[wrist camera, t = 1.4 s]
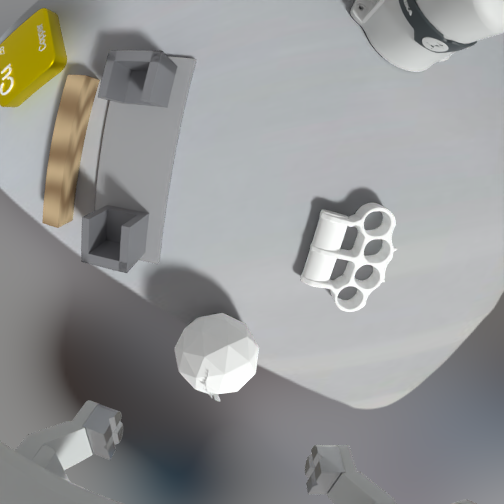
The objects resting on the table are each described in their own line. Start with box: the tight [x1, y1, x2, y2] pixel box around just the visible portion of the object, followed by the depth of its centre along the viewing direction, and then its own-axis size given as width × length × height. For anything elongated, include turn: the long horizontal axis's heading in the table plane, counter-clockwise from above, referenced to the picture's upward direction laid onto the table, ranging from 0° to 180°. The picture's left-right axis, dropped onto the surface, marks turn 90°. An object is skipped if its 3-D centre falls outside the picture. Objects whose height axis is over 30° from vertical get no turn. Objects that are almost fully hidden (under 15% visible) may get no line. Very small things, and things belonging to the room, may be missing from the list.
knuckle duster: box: [300, 203, 397, 312], centre depth 45 cm, size 3×18×15 cm
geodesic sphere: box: [174, 313, 259, 401], centre depth 45 cm, size 14×14×14 cm
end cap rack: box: [81, 50, 196, 273], centre depth 37 cm, size 32×12×9 cm, turn 168°
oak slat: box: [43, 75, 100, 228], centre depth 38 cm, size 24×4×5 cm, turn 164°
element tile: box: [0, 8, 67, 107], centre depth 32 cm, size 15×15×5 cm
